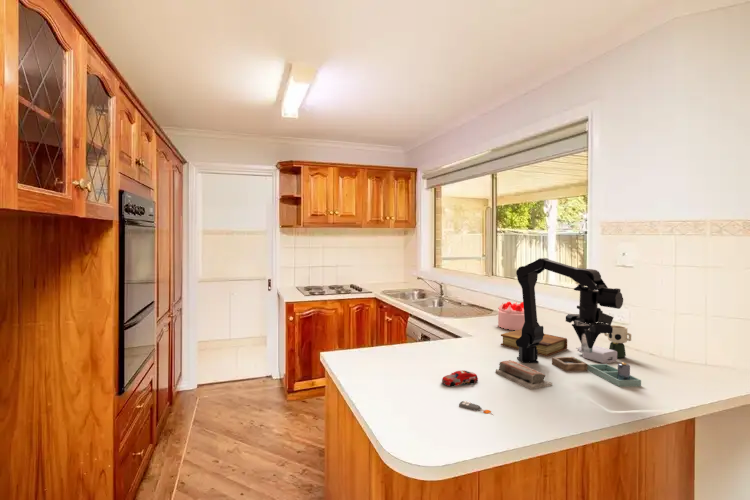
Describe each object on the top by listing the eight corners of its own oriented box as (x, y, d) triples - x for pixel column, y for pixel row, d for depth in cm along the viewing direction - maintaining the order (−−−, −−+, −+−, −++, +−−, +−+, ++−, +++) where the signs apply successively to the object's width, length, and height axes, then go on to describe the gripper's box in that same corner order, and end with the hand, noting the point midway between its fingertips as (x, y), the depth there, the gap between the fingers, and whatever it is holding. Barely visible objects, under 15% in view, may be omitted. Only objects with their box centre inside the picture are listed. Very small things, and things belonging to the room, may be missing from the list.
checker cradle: (564, 372, 143) (565, 363, 142) (551, 364, 152) (552, 356, 151) (587, 371, 143) (587, 363, 143) (573, 364, 152) (573, 356, 152)
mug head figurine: (599, 354, 166) (600, 325, 165) (608, 352, 169) (608, 323, 169) (626, 361, 156) (627, 330, 156) (634, 358, 160) (635, 328, 160)
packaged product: (494, 360, 142) (514, 358, 146) (494, 373, 142) (514, 370, 146) (531, 376, 125) (553, 372, 129) (531, 391, 125) (552, 386, 129)
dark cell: (622, 385, 129) (622, 364, 129) (614, 381, 132) (615, 361, 132) (632, 384, 129) (632, 364, 129) (624, 380, 133) (624, 361, 132)
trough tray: (618, 387, 127) (619, 380, 127) (586, 370, 144) (586, 364, 144) (641, 387, 128) (641, 380, 128) (606, 370, 145) (606, 363, 145)
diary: (567, 350, 174) (567, 338, 174) (547, 357, 163) (547, 344, 162) (521, 339, 192) (521, 328, 192) (500, 345, 181) (500, 333, 180)
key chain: (457, 408, 112) (457, 403, 112) (462, 404, 115) (462, 399, 115) (501, 420, 105) (501, 415, 105) (505, 415, 108) (505, 410, 108)
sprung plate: (566, 368, 144) (566, 366, 144) (557, 363, 150) (557, 361, 150) (581, 368, 145) (581, 366, 145) (571, 363, 151) (571, 361, 151)
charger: (584, 352, 170) (617, 361, 156) (570, 354, 166) (602, 364, 153) (584, 341, 170) (617, 350, 156) (570, 343, 166) (603, 353, 152)
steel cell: (585, 352, 134) (585, 333, 134) (579, 349, 138) (579, 330, 138) (594, 352, 135) (595, 333, 134) (588, 349, 138) (589, 330, 138)
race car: (446, 388, 127) (446, 377, 127) (439, 382, 132) (439, 371, 132) (480, 384, 131) (480, 372, 131) (471, 378, 136) (471, 367, 136)
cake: (530, 333, 204) (530, 307, 204) (493, 328, 215) (493, 303, 215) (536, 326, 221) (537, 302, 220) (502, 322, 232) (502, 299, 231)
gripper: (628, 309, 127) (626, 354, 128) (592, 299, 146) (591, 339, 146) (597, 309, 126) (595, 354, 127) (565, 299, 145) (564, 339, 145)
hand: (586, 346), depth 136 cm, fingers closed on steel cell, 4 cm apart
